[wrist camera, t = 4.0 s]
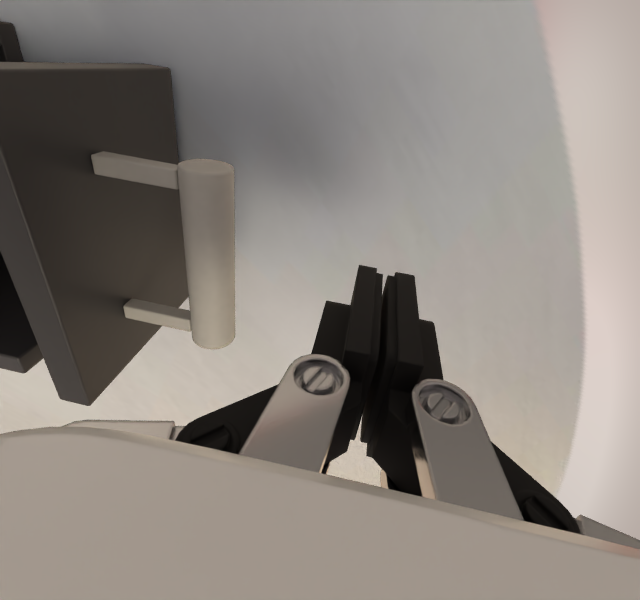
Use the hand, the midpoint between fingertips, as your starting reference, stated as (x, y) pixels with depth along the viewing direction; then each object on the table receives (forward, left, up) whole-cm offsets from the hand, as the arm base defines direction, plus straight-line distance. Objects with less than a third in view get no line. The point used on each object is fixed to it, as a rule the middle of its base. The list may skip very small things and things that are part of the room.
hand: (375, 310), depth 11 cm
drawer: (+8, -12, -6) cm, 15 cm away
